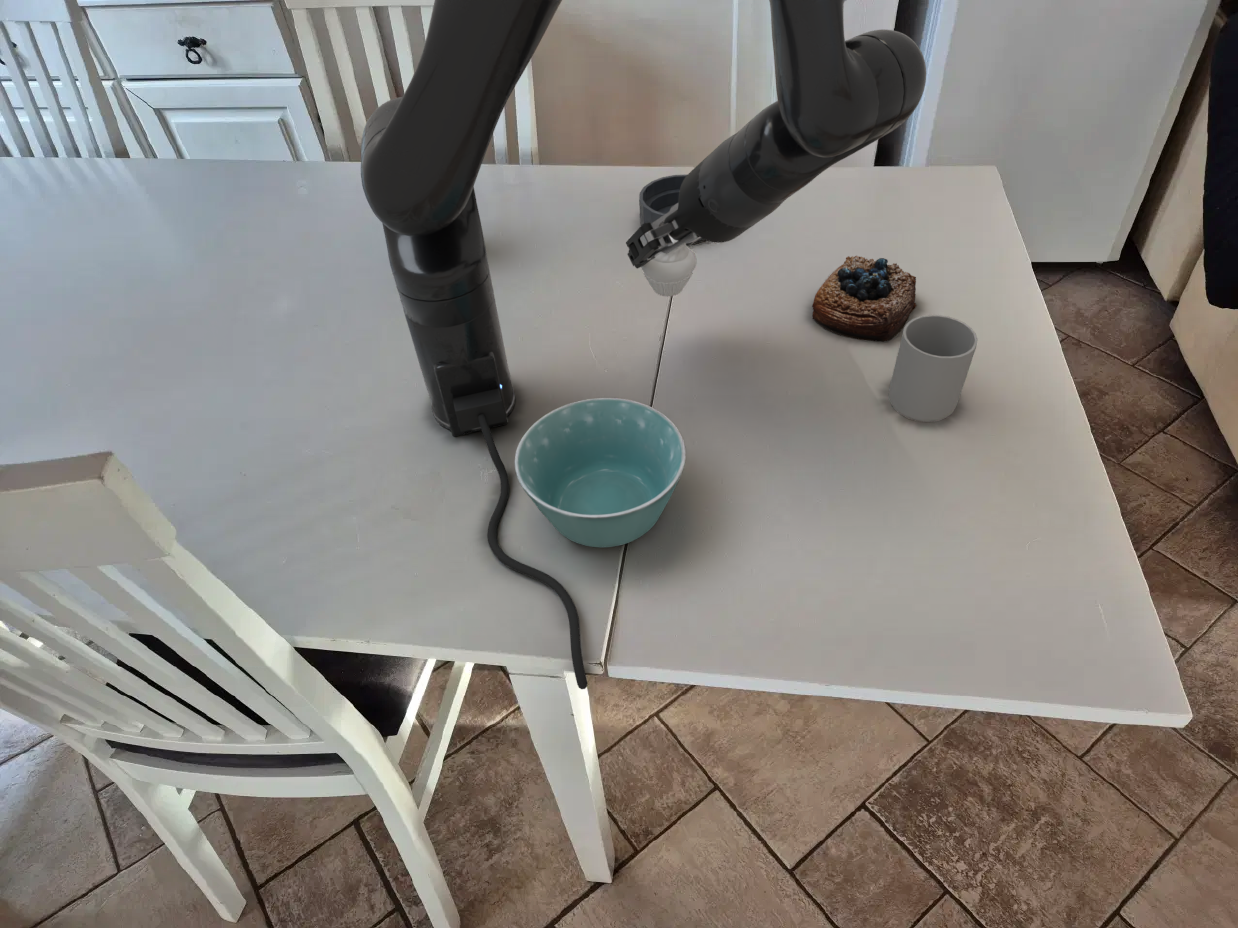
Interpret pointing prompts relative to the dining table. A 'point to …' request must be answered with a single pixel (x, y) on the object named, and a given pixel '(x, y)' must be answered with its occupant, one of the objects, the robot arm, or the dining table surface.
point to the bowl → (601, 469)
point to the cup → (931, 367)
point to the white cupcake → (670, 270)
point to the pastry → (865, 300)
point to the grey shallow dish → (659, 198)
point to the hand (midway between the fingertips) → (658, 248)
